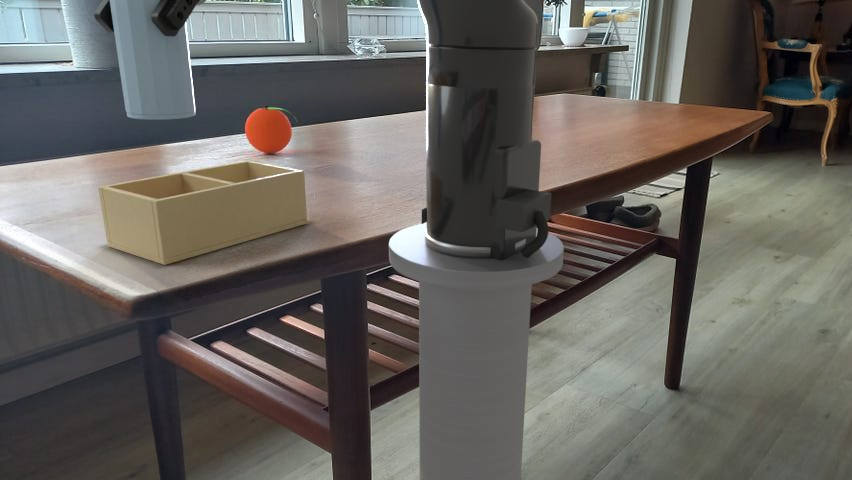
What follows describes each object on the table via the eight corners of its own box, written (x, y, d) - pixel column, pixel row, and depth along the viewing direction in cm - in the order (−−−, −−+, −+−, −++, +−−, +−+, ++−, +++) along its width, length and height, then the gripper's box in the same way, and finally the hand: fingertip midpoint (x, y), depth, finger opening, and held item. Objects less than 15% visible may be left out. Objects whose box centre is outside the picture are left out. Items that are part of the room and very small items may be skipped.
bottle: (209, 115, 60) (190, -68, 55) (151, 121, 56) (124, -77, 51) (171, 109, 63) (150, -66, 58) (113, 115, 59) (84, -74, 54)
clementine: (294, 147, 112) (291, 102, 109) (304, 155, 106) (302, 108, 103) (243, 150, 108) (239, 104, 106) (251, 158, 102) (246, 109, 100)
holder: (307, 223, 71) (304, 170, 69) (164, 265, 58) (155, 201, 56) (252, 210, 75) (248, 160, 73) (107, 246, 62) (97, 186, 60)
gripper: (135, -150, 61) (33, -12, 55) (267, -160, 56) (171, -9, 50) (187, -76, 67) (101, 56, 61) (310, -79, 62) (229, 65, 56)
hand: (133, 26), depth 55 cm, fingers closed on bottle, 5 cm apart
